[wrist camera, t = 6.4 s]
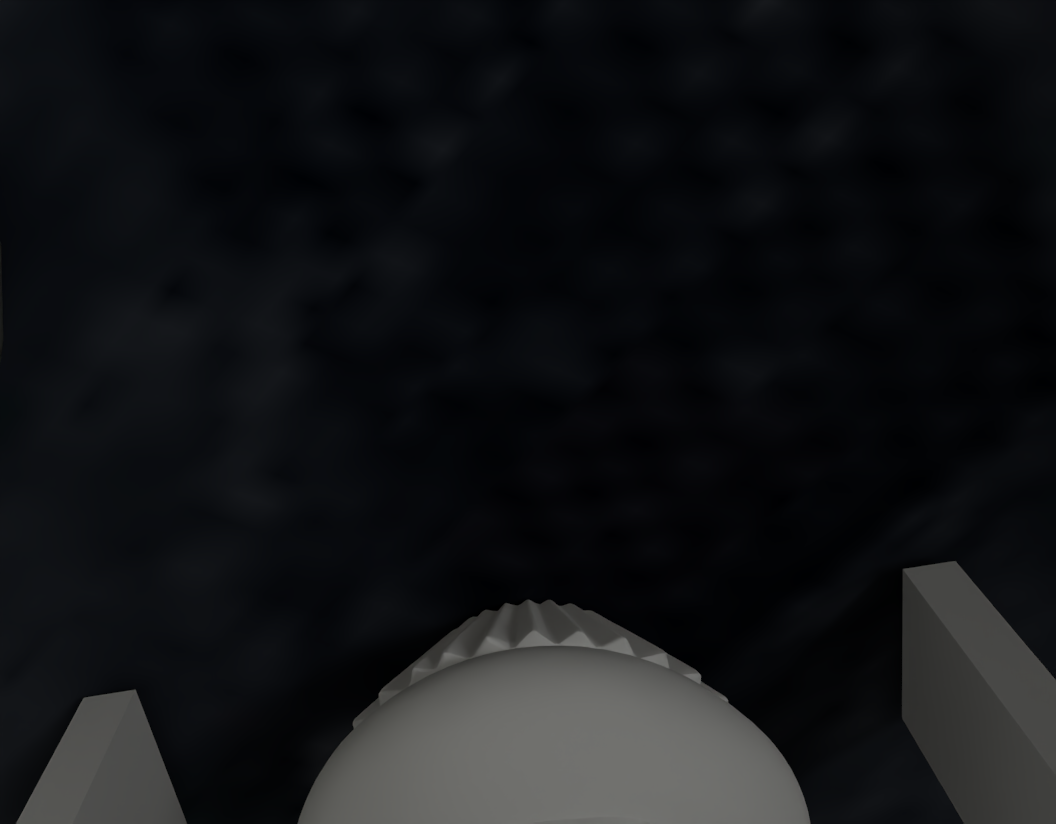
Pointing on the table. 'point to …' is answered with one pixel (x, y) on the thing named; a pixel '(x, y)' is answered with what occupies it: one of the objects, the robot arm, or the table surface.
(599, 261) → the table surface
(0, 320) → the ceramic plate
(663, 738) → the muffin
